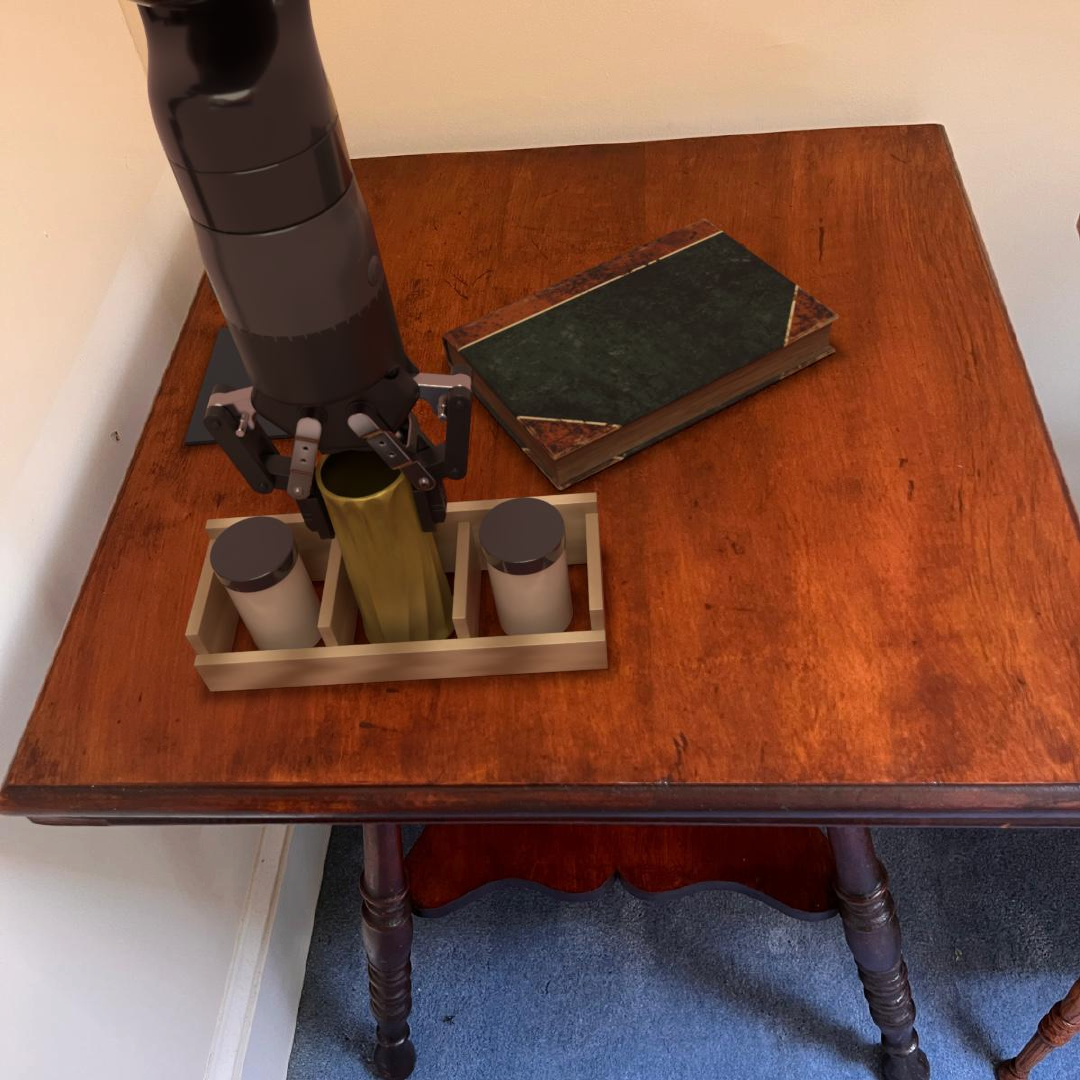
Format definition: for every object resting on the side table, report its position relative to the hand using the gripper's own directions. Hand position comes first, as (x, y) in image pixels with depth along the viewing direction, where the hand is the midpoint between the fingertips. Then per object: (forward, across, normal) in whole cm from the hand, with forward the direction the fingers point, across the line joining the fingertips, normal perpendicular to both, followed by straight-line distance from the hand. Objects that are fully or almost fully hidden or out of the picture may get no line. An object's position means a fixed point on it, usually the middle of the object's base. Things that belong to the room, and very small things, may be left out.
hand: (380, 523), depth 59 cm
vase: (+10, 0, 0) cm, 10 cm away
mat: (+9, +12, -25) cm, 29 cm away
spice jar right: (+9, -8, 0) cm, 12 cm away
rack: (+9, 0, 0) cm, 9 cm away
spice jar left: (+9, +8, 0) cm, 12 cm away
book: (+10, -16, -24) cm, 30 cm away
